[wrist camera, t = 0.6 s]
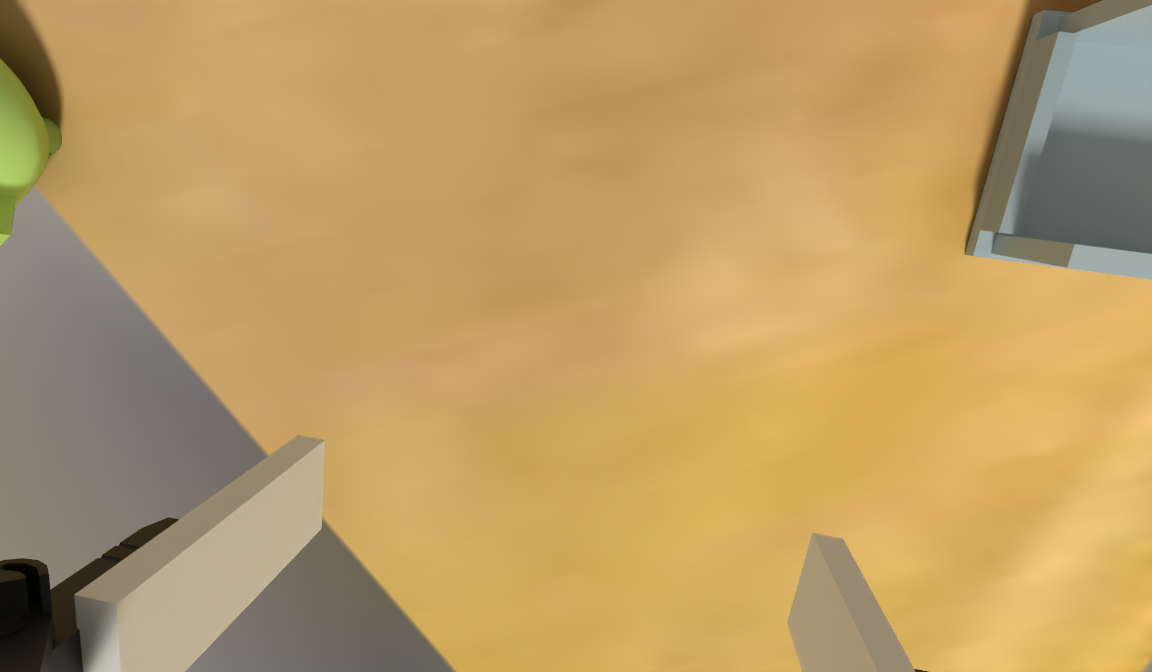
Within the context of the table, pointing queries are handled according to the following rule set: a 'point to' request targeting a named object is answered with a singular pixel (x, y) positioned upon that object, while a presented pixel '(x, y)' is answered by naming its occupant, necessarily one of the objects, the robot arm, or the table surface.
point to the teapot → (20, 145)
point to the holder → (1076, 146)
